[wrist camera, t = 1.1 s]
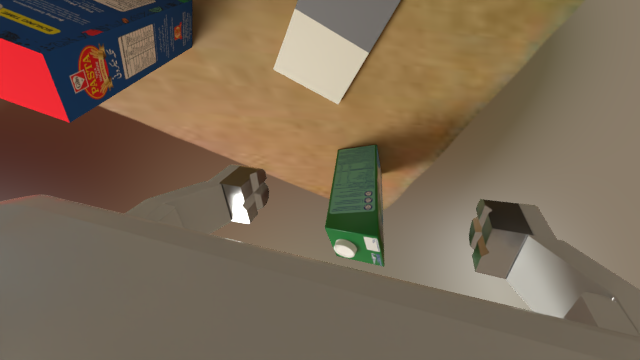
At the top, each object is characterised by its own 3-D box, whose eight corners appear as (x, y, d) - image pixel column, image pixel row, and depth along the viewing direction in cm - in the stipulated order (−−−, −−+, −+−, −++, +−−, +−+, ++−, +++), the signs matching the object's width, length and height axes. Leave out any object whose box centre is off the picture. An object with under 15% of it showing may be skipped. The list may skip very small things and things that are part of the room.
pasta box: (35, -18, 46) (-225, 19, 26) (14, -78, 41) (-334, -89, 21) (192, 46, 50) (69, 122, 30) (192, 0, 45) (42, 54, 24)
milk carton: (337, 149, 61) (322, 239, 43) (376, 144, 59) (378, 237, 41) (345, 177, 67) (335, 267, 49) (381, 174, 64) (384, 267, 46)
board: (275, 67, 50) (273, 69, 49) (326, -78, 36) (325, -78, 35) (338, 101, 53) (338, 104, 52) (410, -20, 38) (411, -19, 38)
